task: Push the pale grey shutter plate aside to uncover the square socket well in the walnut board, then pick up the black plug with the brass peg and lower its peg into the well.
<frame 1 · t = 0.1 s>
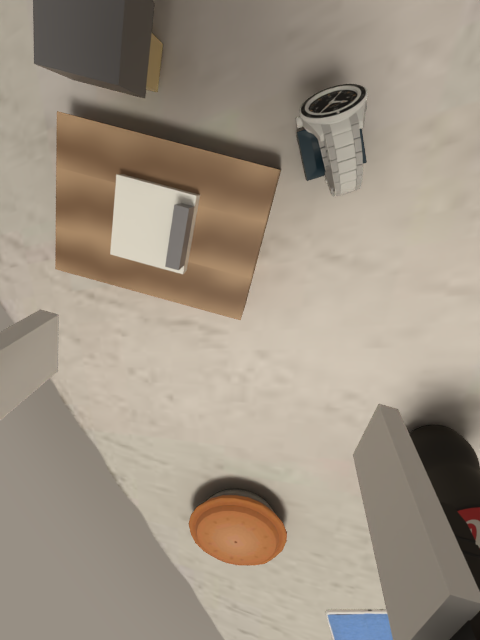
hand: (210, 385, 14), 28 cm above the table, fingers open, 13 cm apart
shutter: (150, 227, 34), point 6 cm above the table, slide at 0.0 cm
socket board: (168, 219, 40), on the table
pie: (240, 511, 58), on the table
plug: (140, 63, 34), on the table
tablet computer: (365, 634, 67), on the table
watch: (327, 148, 35), on the table
cola bottle: (429, 442, 47), on the table
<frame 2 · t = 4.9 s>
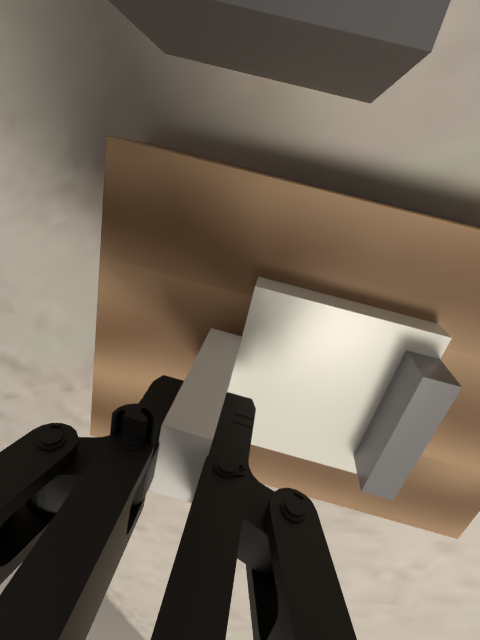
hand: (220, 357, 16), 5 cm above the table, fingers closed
shutter: (321, 395, 15), point 6 cm above the table, slide at 0.3 cm, touching gripper
socket board: (309, 336, 20), on the table
plug: (295, 23, 15), on the table
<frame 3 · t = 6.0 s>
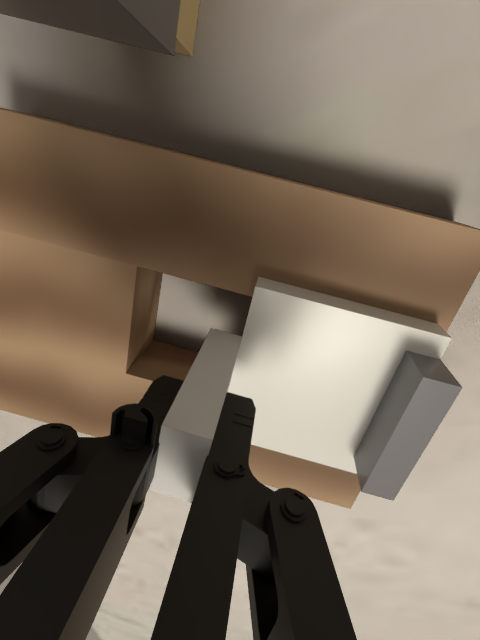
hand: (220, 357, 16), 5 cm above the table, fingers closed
shutter: (321, 396, 15), point 6 cm above the table, slide at 6.5 cm, touching gripper
socket board: (207, 309, 21), on the table
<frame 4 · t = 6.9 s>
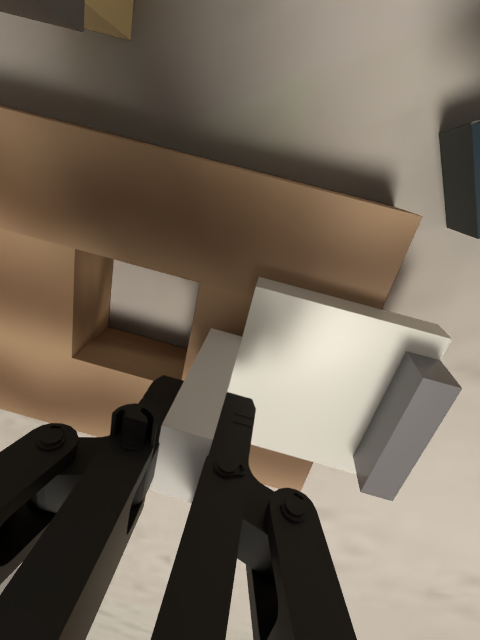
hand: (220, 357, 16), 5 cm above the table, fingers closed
shutter: (320, 396, 15), point 6 cm above the table, slide at 9.5 cm, touching gripper
socket board: (159, 296, 21), on the table
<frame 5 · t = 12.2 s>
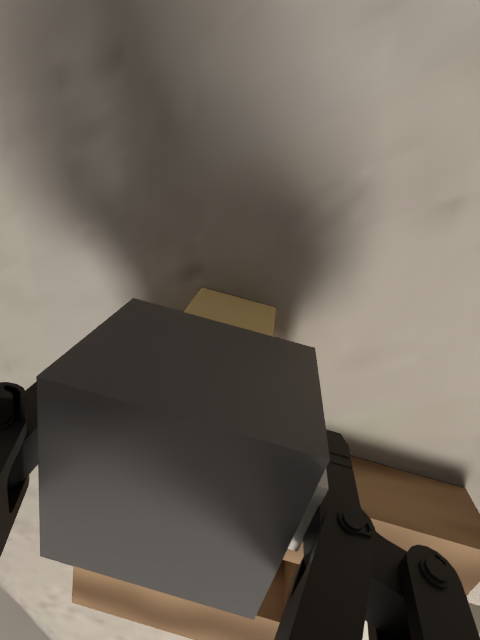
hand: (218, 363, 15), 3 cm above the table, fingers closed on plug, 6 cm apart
socket board: (255, 521, 24), on the table
plug: (230, 330, 19), on the table, touching gripper
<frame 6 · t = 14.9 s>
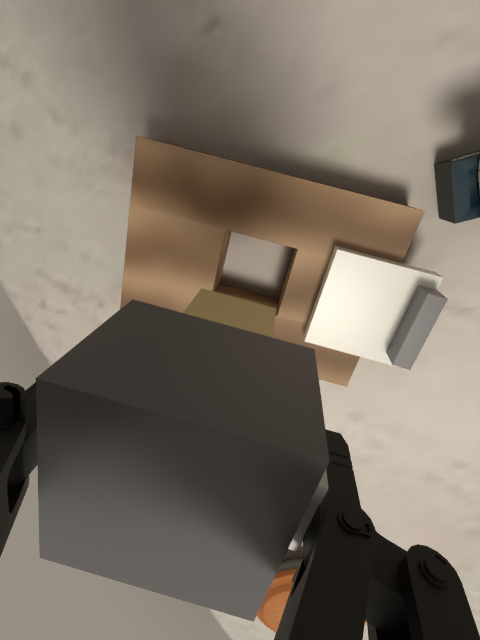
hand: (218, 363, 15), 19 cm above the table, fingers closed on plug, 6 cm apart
shutter: (369, 312, 27), point 6 cm above the table, slide at 9.7 cm
socket board: (256, 262, 32), on the table
pie: (307, 581, 50), on the table
plug: (230, 331, 19), point 15 cm above the table, touching gripper
watch: (472, 180, 28), on the table
when the fingers open (6 cm above the table, at t = 17.4 s): plug drops 3 cm, resting in socket board.
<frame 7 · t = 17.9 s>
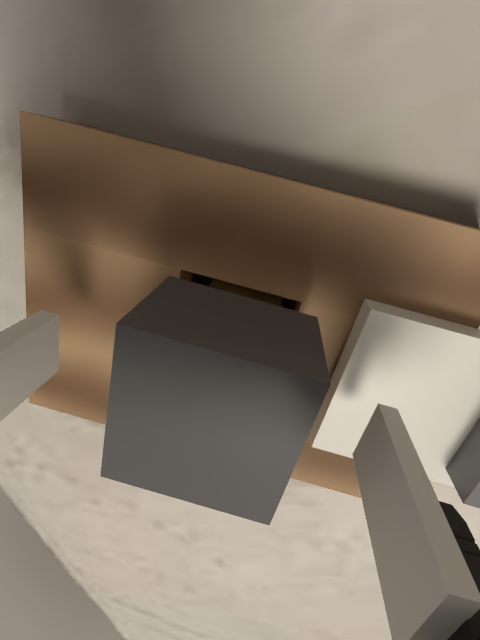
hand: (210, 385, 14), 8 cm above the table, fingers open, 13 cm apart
shutter: (423, 412, 16), point 6 cm above the table, slide at 9.7 cm
socket board: (238, 310, 21), on the table
plug: (242, 311, 21), resting in socket board
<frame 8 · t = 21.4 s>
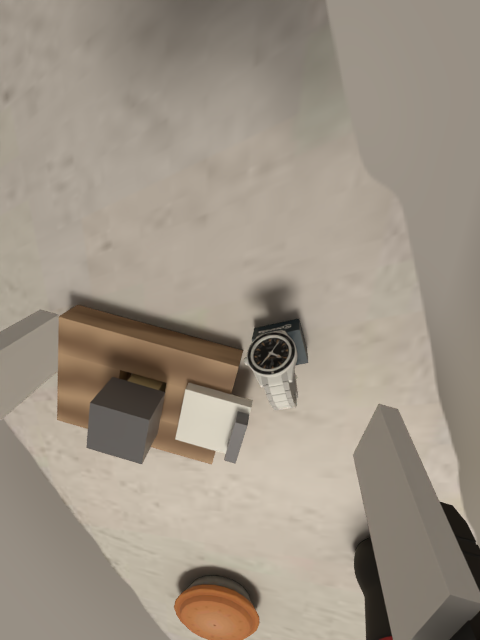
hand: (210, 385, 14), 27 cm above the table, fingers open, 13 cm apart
shutter: (211, 425, 42), point 6 cm above the table, slide at 9.7 cm
socket board: (152, 378, 47), on the table
pie: (220, 592, 65), on the table
plug: (153, 378, 47), resting in socket board
watch: (280, 337, 42), on the table
cola bottle: (378, 548, 55), on the table
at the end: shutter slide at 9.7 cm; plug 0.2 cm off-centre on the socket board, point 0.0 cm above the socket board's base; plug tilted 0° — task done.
